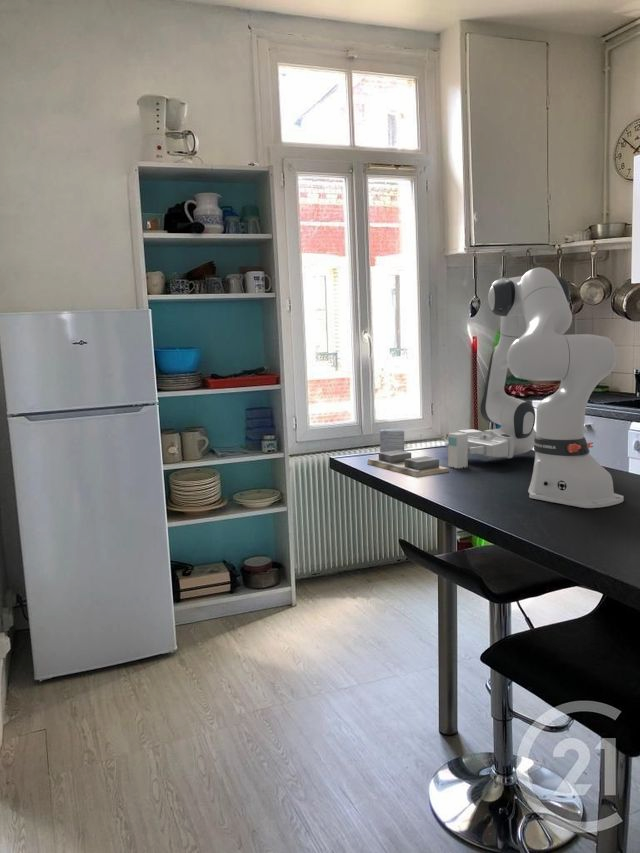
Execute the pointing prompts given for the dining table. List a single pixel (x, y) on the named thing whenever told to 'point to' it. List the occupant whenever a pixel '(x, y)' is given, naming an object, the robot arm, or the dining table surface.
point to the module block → (457, 450)
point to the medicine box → (391, 440)
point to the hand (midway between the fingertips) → (458, 448)
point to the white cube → (471, 432)
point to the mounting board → (408, 463)
